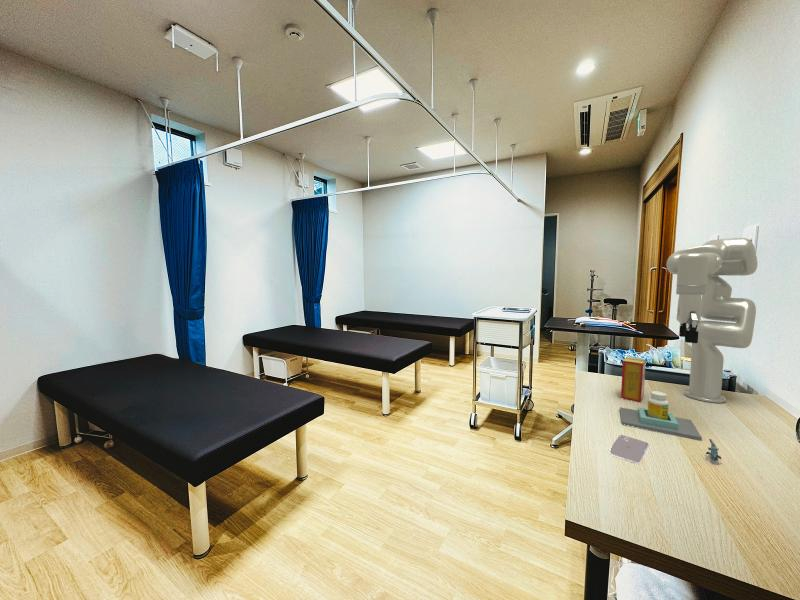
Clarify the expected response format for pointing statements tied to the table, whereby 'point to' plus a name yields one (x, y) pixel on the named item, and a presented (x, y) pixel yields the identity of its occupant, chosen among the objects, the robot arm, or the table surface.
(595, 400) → the table surface
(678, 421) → the cup stand
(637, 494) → the table surface
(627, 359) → the baking soda box
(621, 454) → the mobile phone
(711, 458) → the sculpture
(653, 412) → the supplement bottle
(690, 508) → the table surface
